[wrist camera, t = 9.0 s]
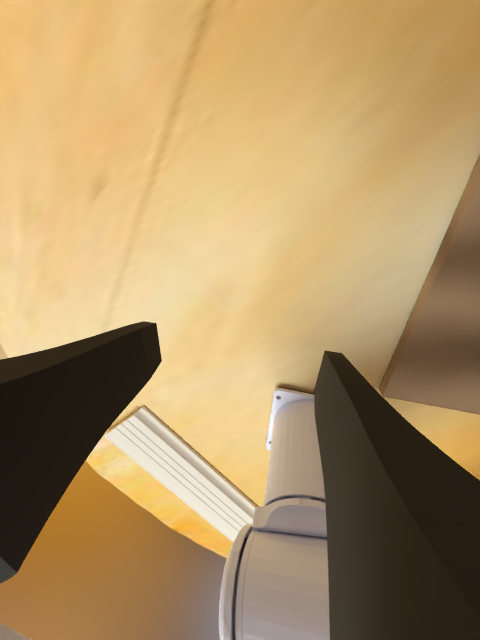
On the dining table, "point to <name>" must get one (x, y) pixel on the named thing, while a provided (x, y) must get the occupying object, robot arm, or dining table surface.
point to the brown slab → (445, 321)
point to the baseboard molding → (182, 471)
